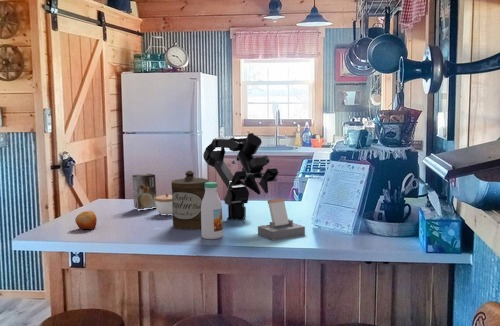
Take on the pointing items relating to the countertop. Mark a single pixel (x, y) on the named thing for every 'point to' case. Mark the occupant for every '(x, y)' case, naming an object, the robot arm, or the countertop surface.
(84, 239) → the countertop surface
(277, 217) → the lever
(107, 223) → the countertop surface
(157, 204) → the lidded jar
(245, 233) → the countertop surface
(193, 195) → the wooden container
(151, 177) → the coffee box
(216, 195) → the milk bottle
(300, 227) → the switch unit
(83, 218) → the fruit
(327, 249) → the countertop surface
